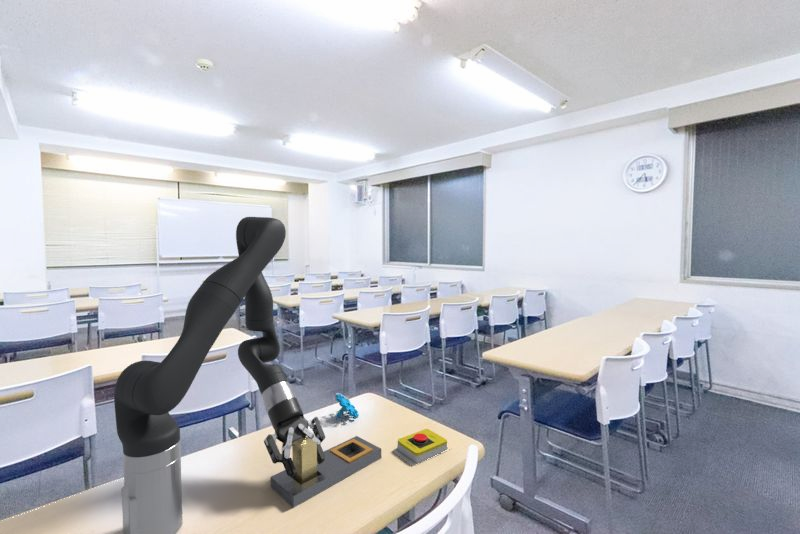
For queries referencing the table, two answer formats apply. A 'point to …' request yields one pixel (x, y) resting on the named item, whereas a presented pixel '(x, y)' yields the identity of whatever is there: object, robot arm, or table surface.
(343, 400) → the gear
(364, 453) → the peg board
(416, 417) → the table surface
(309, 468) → the brass peg
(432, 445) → the emergency button
